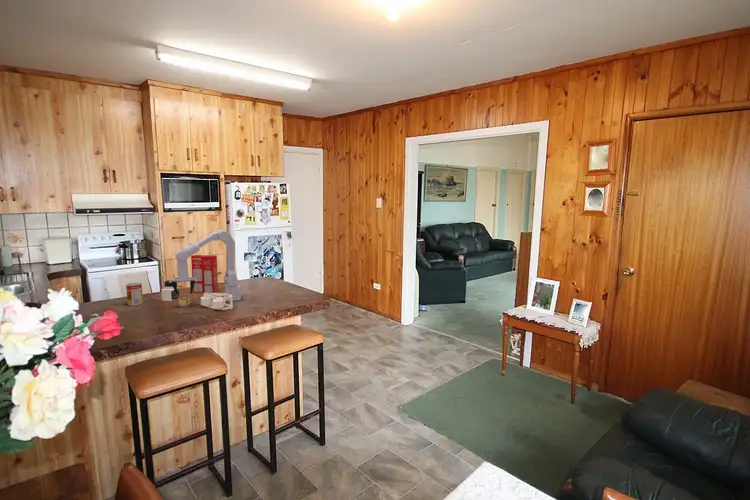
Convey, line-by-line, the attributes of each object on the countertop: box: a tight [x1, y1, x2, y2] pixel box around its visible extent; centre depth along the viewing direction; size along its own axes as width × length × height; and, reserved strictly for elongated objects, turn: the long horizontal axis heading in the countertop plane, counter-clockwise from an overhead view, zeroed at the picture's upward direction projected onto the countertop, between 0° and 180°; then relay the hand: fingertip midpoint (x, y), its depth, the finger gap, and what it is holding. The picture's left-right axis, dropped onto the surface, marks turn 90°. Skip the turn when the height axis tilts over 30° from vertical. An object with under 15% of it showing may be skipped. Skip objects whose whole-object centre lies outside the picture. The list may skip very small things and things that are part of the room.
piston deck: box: [178, 296, 191, 309], centre depth 236 cm, size 5×6×5 cm
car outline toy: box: [201, 292, 234, 311], centre depth 234 cm, size 20×11×7 cm, turn 59°
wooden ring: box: [178, 297, 191, 306], centre depth 236 cm, size 6×6×3 cm
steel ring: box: [197, 296, 202, 306], centre depth 242 cm, size 6×6×3 cm
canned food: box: [125, 282, 144, 306], centre depth 239 cm, size 8×8×12 cm
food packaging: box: [190, 254, 219, 294], centre depth 266 cm, size 15×5×25 cm, turn 84°
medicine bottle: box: [161, 279, 180, 302], centre depth 249 cm, size 7×7×12 cm
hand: (184, 294), depth 235 cm, fingers open, 7 cm apart
